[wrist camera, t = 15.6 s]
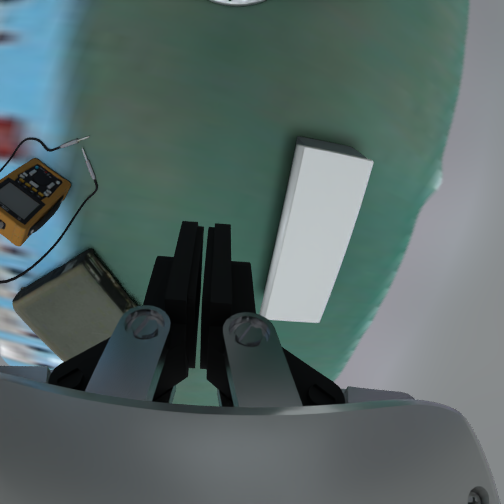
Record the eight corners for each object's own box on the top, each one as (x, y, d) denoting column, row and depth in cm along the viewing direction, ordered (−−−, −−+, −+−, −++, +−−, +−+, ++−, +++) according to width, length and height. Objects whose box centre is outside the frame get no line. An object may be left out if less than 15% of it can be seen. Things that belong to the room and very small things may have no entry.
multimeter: (119, 154, 36) (41, 233, 19) (85, 212, 40) (16, 309, 23) (37, 98, 30) (-73, 140, 13) (11, 159, 34) (-82, 227, 17)
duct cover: (295, 143, 32) (297, 145, 31) (370, 159, 33) (373, 161, 32) (258, 313, 45) (259, 318, 44) (317, 318, 46) (319, 322, 45)
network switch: (178, 330, 53) (176, 352, 49) (97, 367, 58) (91, 386, 54) (82, 231, 42) (69, 250, 37) (14, 294, 47) (2, 311, 43)
